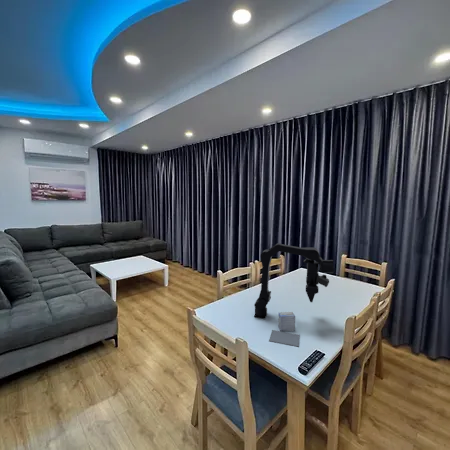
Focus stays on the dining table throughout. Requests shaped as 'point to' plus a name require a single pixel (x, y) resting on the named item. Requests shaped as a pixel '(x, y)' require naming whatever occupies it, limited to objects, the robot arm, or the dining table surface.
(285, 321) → the medicine box
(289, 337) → the mat
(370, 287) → the dining table surface
